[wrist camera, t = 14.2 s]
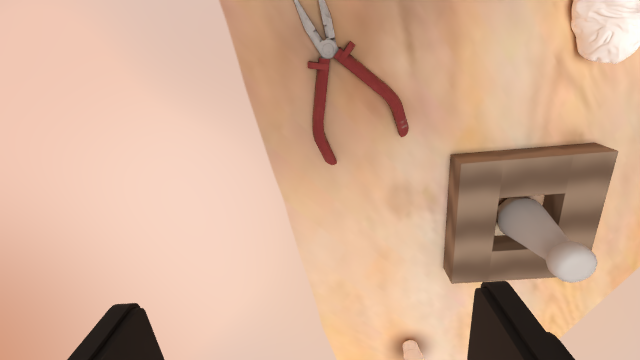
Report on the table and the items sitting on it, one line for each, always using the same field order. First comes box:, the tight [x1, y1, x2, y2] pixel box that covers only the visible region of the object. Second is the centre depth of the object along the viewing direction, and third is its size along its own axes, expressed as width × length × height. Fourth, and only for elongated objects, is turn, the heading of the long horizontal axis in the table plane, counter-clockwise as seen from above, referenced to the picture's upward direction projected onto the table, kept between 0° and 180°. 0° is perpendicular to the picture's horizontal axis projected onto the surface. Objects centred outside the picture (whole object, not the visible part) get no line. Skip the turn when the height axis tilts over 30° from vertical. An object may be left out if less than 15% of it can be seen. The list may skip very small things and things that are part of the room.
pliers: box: [294, 0, 408, 165], centre depth 37 cm, size 12×20×3 cm, turn 24°
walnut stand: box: [444, 143, 618, 284], centre depth 43 cm, size 18×18×4 cm
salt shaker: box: [497, 197, 597, 283], centre depth 39 cm, size 6×6×13 cm
